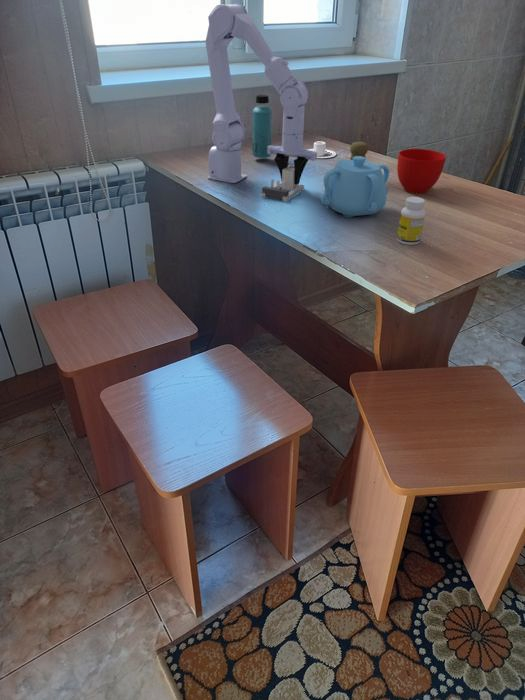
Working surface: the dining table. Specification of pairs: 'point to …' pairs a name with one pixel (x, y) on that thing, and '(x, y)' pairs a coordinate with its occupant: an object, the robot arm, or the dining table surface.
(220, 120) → the robot arm
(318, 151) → the candle holder
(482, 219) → the dining table surface
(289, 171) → the plug block
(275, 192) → the socket
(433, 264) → the dining table surface
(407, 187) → the ceramic cup
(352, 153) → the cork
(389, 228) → the dining table surface
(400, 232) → the supplement bottle
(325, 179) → the decorative pot
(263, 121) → the beverage bottle
